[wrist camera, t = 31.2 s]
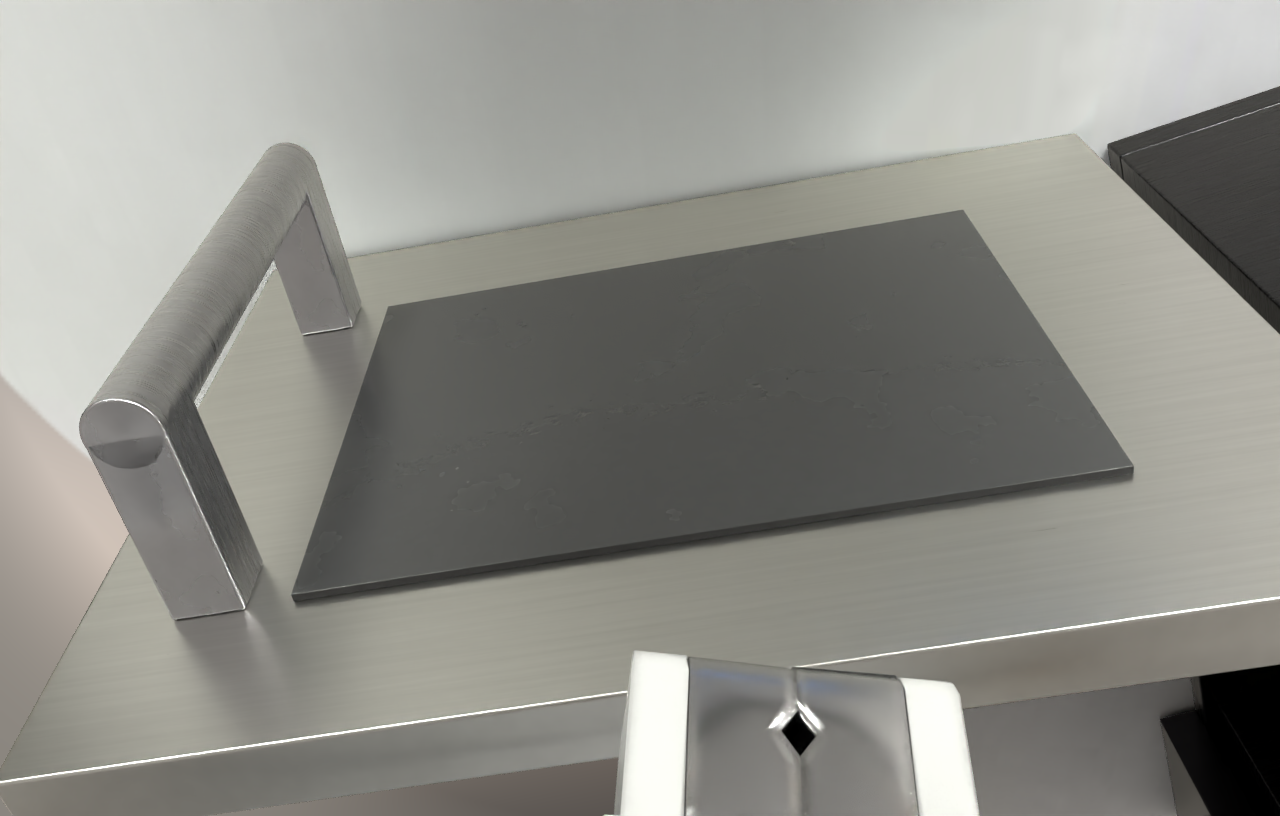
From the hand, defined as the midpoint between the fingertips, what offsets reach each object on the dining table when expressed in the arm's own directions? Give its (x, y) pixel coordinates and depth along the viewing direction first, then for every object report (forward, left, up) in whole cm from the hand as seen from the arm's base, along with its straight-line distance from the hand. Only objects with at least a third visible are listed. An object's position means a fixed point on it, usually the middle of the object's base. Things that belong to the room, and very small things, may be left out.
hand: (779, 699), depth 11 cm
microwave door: (+2, -4, -29) cm, 29 cm away
